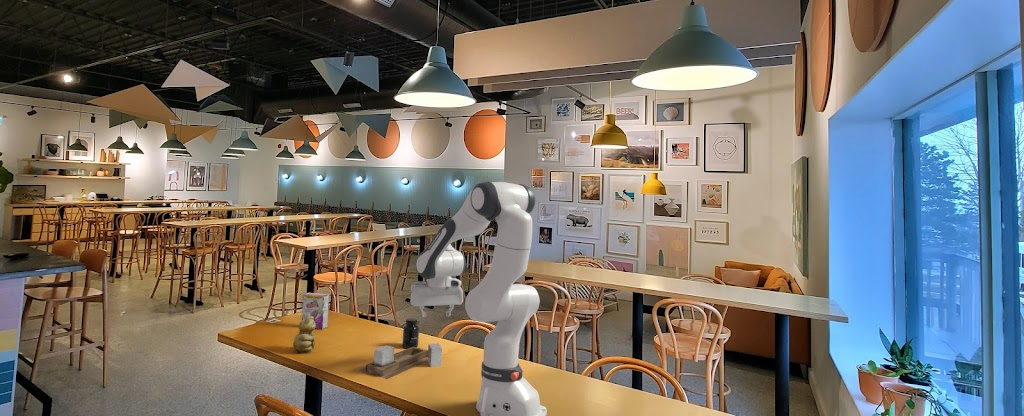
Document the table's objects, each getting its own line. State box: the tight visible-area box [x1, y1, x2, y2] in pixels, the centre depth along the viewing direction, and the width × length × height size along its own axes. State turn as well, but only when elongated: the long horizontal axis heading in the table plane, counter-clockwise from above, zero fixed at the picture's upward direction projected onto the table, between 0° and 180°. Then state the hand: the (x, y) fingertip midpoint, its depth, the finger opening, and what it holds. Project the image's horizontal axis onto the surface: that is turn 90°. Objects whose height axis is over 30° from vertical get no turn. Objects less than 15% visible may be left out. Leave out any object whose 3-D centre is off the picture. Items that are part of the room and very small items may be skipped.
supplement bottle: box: [402, 317, 420, 349], centre depth 201 cm, size 7×7×12 cm
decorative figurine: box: [292, 314, 316, 353], centre depth 189 cm, size 10×8×15 cm
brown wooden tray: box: [358, 347, 428, 380], centre depth 175 cm, size 14×27×4 cm, turn 152°
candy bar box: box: [301, 292, 330, 330], centre depth 223 cm, size 11×5×16 cm, turn 82°
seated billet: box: [373, 345, 395, 368], centre depth 168 cm, size 4×6×8 cm, turn 152°
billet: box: [427, 342, 443, 368], centre depth 177 cm, size 4×6×8 cm, turn 22°
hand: (436, 316), depth 177 cm, fingers open, 8 cm apart
